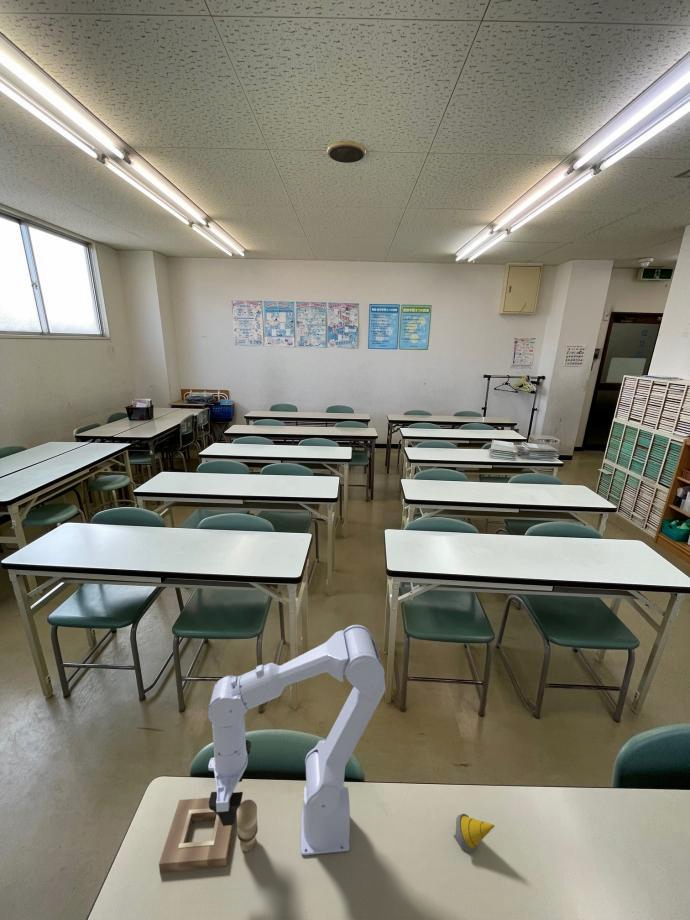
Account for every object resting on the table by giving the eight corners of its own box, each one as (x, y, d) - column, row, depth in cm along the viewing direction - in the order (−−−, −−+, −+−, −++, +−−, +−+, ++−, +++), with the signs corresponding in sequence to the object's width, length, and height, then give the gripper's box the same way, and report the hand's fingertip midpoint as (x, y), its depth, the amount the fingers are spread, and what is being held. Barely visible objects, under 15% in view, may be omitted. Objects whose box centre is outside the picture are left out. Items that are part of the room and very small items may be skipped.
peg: (259, 830, 77) (258, 798, 75) (256, 853, 73) (255, 820, 71) (239, 832, 76) (238, 800, 75) (235, 855, 72) (234, 822, 71)
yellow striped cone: (457, 819, 80) (497, 809, 76) (464, 855, 75) (507, 846, 71) (442, 815, 78) (482, 804, 74) (448, 852, 73) (491, 843, 69)
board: (237, 803, 82) (236, 795, 81) (225, 866, 71) (225, 857, 70) (179, 807, 81) (179, 799, 80) (159, 872, 70) (158, 863, 69)
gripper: (217, 710, 77) (220, 765, 79) (195, 783, 63) (200, 847, 65) (252, 708, 77) (254, 762, 80) (239, 780, 63) (242, 843, 66)
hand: (233, 800), depth 73 cm, fingers open, 7 cm apart
